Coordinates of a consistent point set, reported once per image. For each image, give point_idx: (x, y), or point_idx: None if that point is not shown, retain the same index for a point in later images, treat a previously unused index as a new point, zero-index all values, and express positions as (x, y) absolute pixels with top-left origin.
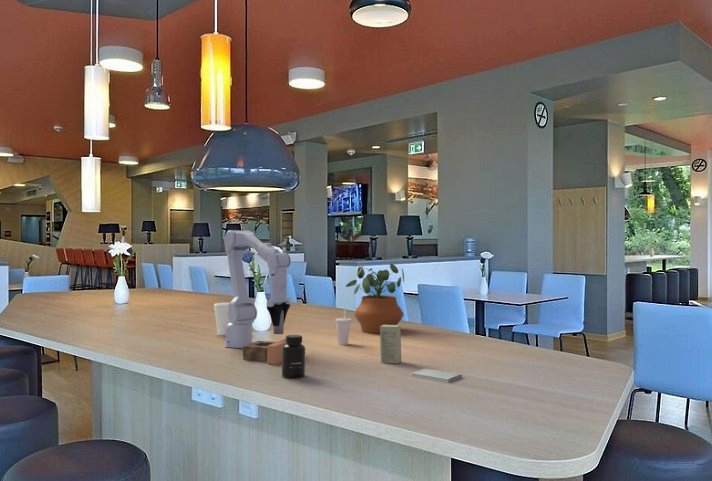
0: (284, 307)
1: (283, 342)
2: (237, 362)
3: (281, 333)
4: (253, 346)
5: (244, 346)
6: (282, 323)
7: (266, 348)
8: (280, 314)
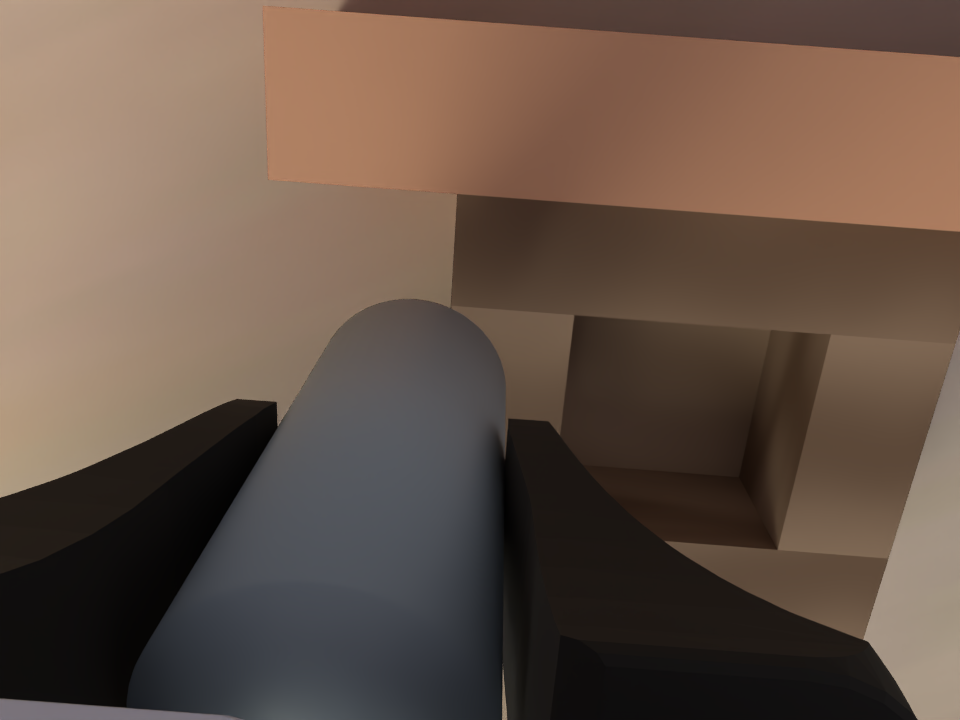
0: (33, 691)
1: (887, 87)
2: (954, 537)
3: (459, 317)
4: (870, 524)
5: (866, 625)
6: (417, 384)
7: (956, 316)
8: (553, 535)
